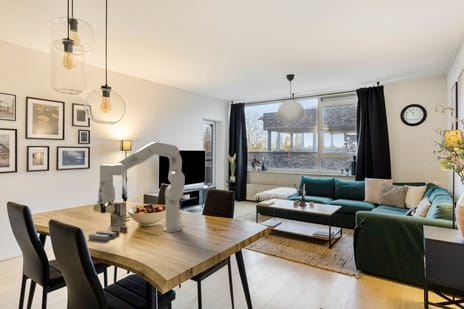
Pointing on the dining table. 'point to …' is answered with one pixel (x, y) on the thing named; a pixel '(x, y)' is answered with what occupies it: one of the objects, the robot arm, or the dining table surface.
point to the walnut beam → (122, 229)
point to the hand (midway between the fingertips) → (106, 211)
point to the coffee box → (118, 214)
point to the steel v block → (102, 236)
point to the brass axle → (108, 208)
